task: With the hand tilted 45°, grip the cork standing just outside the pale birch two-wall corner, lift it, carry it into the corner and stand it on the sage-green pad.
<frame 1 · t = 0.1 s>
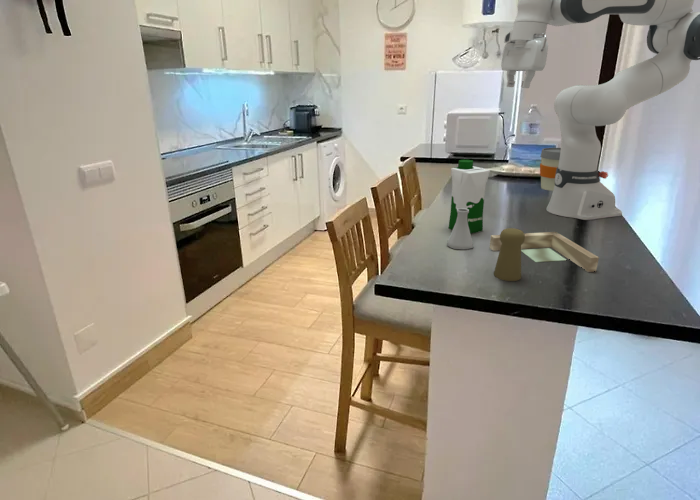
hand: (517, 87, 130), 39 cm above the countertop, tool pointing down, fingers open, 8 cm apart
milk carton: (465, 230, 132), on the countertop
cork: (507, 276, 102), on the countertop
reusable coffee cup: (553, 188, 177), on the countertop
flask: (459, 246, 120), on the countertop
corner arena: (539, 258, 111), on the countertop
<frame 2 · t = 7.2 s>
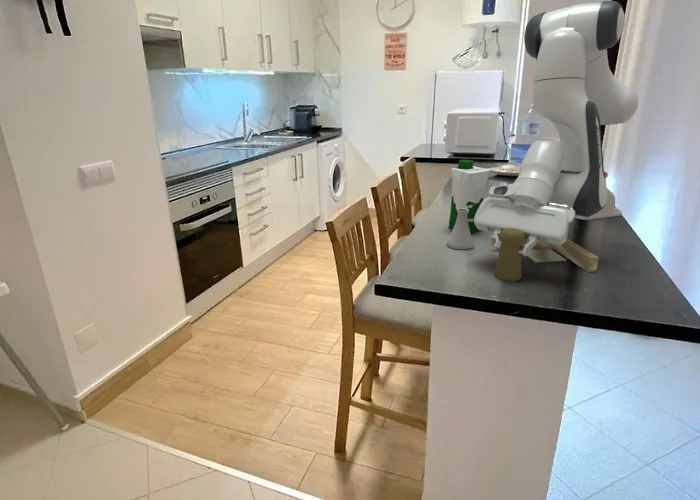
hand: (509, 252, 99), 6 cm above the countertop, tool tilted 45°, fingers closed on cork, 4 cm apart
cork: (507, 276, 102), on the countertop, touching gripper
everything else where it was.
when the fingers open (7 cm above the countertop, at t = 12.8 s): cork moves 3 cm, resting on corner arena.
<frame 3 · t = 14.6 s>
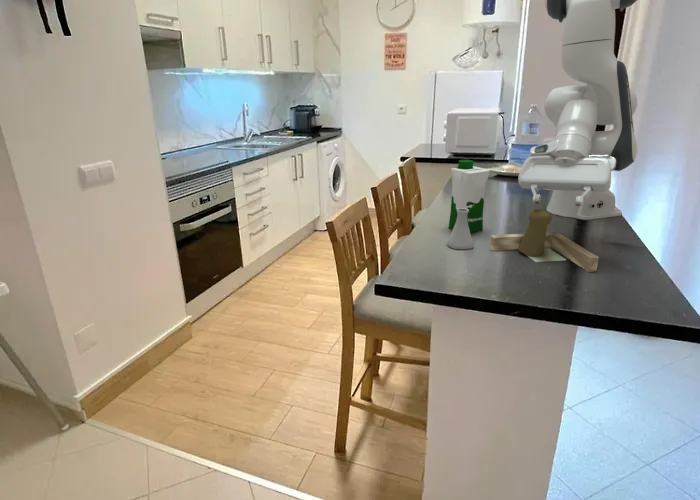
hand: (556, 203, 105), 14 cm above the countertop, tool tilted 45°, fingers open, 8 cm apart
cork: (530, 251, 114), resting on corner arena
everything else where it was.
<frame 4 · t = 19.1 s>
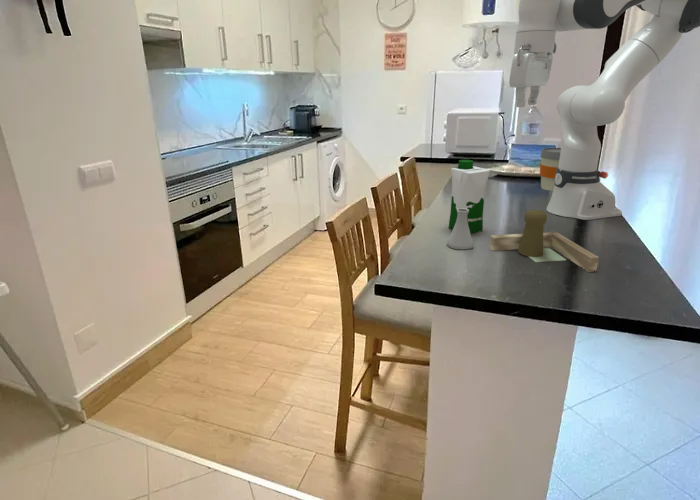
hand: (526, 106, 113), 35 cm above the countertop, tool pointing down, fingers open, 8 cm apart
at the end: cork 3.0 cm from the target spot on the corner arena, point 0.0 cm above the corner arena's base; cork tilted 0°; the gripper is holding nothing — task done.
